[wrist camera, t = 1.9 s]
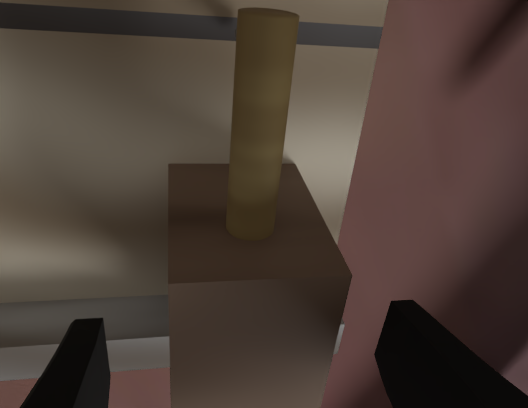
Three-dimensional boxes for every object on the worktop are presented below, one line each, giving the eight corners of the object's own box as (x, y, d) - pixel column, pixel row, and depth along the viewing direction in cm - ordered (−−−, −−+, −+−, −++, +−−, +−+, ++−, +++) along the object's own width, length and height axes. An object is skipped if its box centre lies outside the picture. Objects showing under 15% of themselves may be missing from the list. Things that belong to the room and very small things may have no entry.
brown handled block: (279, 282, 17) (318, 414, 13) (170, 288, 17) (171, 430, 12) (318, -6, 12) (408, 41, 8) (164, -17, 11) (162, 28, 7)
